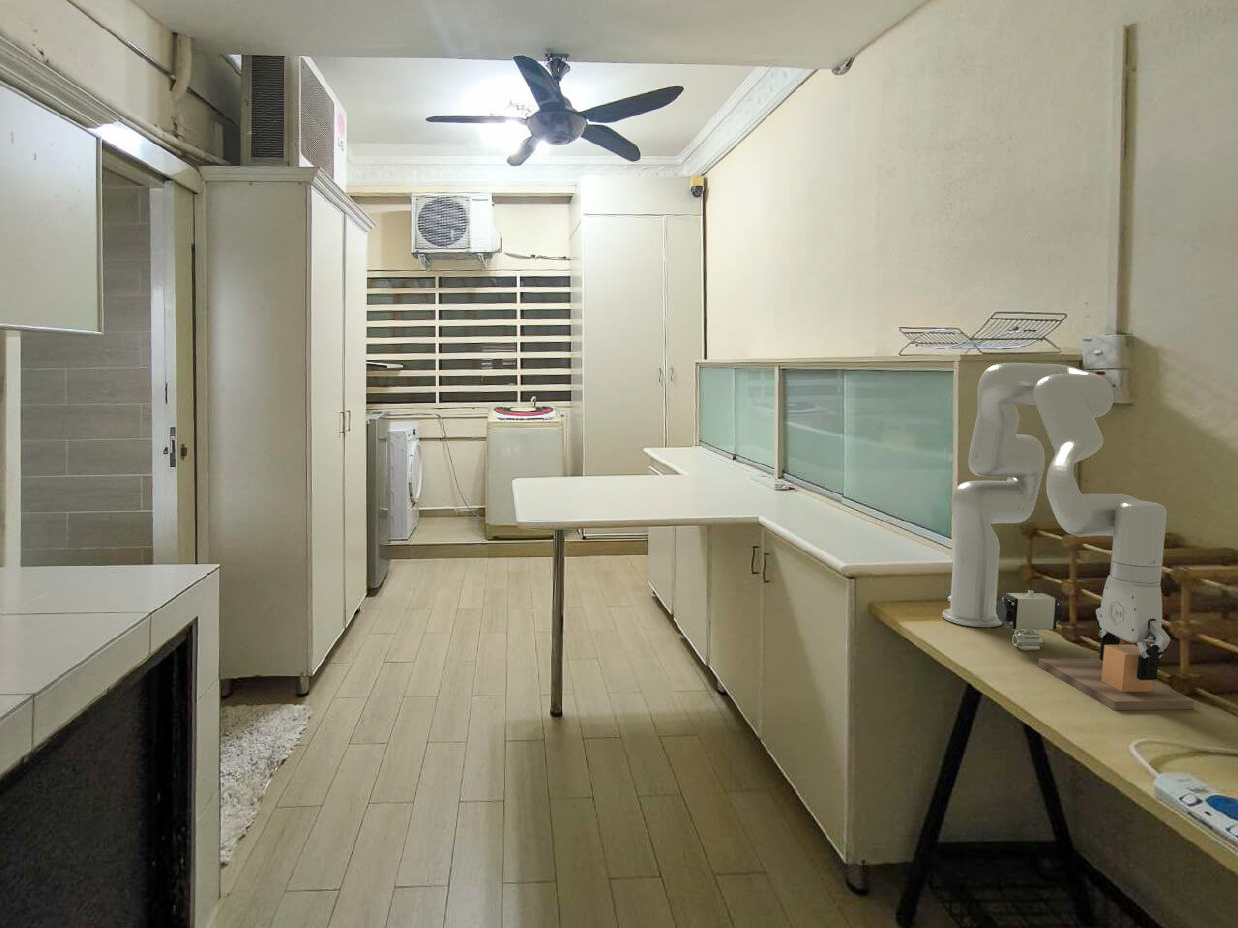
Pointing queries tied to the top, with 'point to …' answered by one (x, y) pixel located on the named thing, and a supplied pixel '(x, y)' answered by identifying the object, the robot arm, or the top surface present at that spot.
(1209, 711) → the top surface
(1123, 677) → the peach foam cube
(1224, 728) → the top surface
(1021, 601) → the pneumatic valve
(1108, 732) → the top surface
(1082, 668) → the brown wooden board
